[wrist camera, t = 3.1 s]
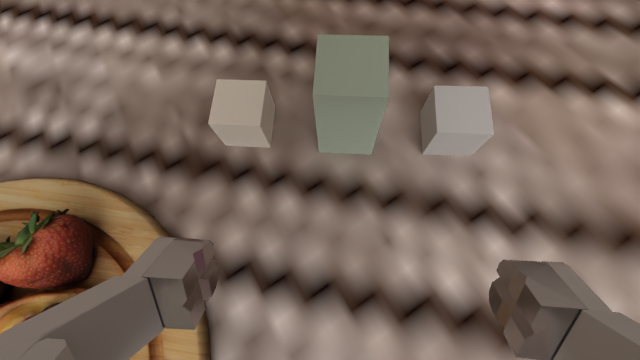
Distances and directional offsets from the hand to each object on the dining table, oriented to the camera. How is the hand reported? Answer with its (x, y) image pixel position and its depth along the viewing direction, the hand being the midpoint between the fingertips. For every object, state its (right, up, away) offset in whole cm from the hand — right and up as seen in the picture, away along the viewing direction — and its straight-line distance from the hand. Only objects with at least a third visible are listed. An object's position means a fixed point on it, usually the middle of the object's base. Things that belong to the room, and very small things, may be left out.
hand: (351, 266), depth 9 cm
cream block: (-7, +7, +18) cm, 21 cm away
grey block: (+10, +6, +17) cm, 21 cm away
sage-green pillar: (+1, +7, +18) cm, 19 cm away
